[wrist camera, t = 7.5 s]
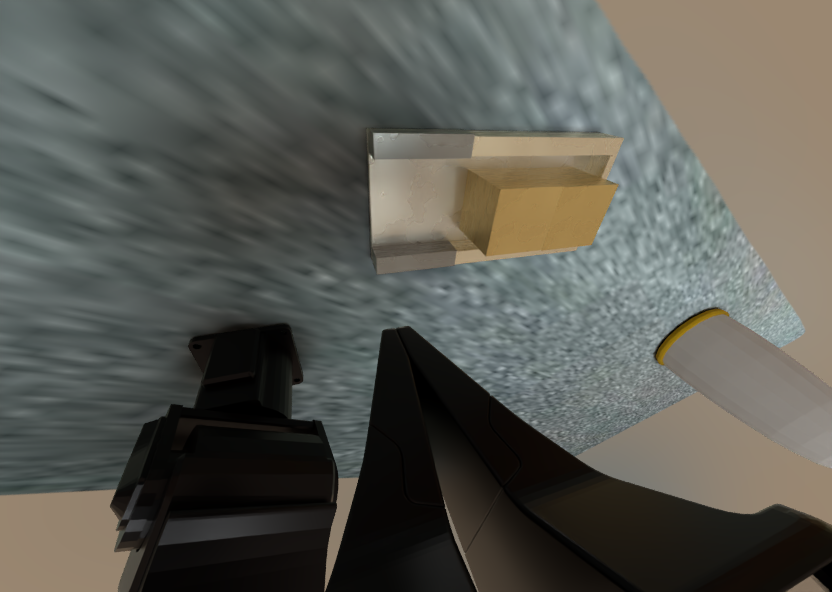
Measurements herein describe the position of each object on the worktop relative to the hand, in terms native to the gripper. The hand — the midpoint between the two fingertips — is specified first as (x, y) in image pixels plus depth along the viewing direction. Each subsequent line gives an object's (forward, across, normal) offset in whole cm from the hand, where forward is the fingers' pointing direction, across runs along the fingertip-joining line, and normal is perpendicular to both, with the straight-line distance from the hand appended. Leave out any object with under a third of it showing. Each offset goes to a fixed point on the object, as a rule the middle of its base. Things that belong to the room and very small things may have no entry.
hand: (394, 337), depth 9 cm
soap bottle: (+12, -49, +22) cm, 55 cm away
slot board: (+12, -9, 0) cm, 15 cm away
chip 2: (+11, -14, 0) cm, 18 cm away
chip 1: (+11, -10, 0) cm, 15 cm away
